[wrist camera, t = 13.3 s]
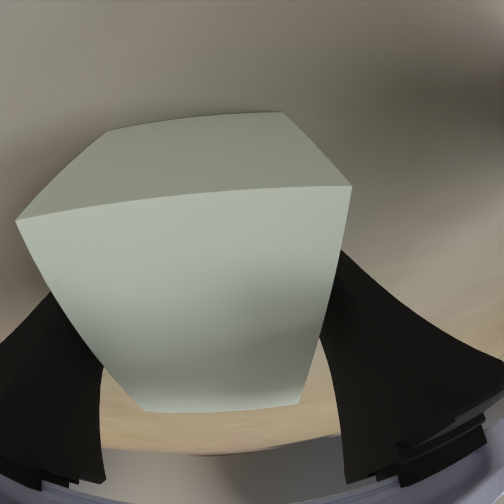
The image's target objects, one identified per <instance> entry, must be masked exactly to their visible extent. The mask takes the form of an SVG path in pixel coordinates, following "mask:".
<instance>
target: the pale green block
mask: <svg viewBox="0 0 504 504" xmlns="http://www.w3.org/2000/svg"><path fill="white" fill-rule="evenodd" d="M351 191H352V185H351V184H350V183H349V181H348V180H347V179H346V178H345V177H344V176H343V174H342V173H341V172H340V171H339V170H338V169H337V168H336V167H335V165H334V164H333V163H332V162H331V161H330V160H329V159H328V158H327V157H326V156H325V155H324V153H323V152H322V151H321V150H320V149H319V148H318V147H317V146H316V145H315V144H314V143H313V142H312V141H311V140H310V139H309V138H308V137H307V136H306V135H305V134H304V133H303V132H302V131H301V130H300V129H299V128H298V127H297V126H296V125H295V124H294V123H293V122H292V121H291V120H290V119H289V118H288V117H287V116H286V115H285V114H284V113H283V112H270V113H240V114H223V115H211V116H200V117H190V118H182V119H174V120H166V121H159V122H153V123H147V124H141V125H135V126H130V127H124V128H119V129H115V130H110V131H107V132H105V133H104V134H103V135H102V136H100V137H99V138H98V139H97V140H96V141H94V142H93V143H92V144H91V145H90V146H88V147H87V148H86V149H85V150H84V151H83V152H81V153H80V154H79V155H78V156H77V157H76V158H75V159H74V160H73V161H71V162H70V163H69V164H68V165H67V166H66V167H65V168H64V169H63V170H62V171H61V172H60V173H59V174H58V175H57V176H56V177H55V178H54V179H53V180H52V181H51V182H50V183H49V184H48V185H47V186H46V187H45V188H44V189H43V190H42V191H41V192H40V193H39V194H38V195H37V196H36V197H35V198H34V199H33V200H32V202H31V203H30V204H29V205H28V206H27V207H26V208H25V209H24V211H23V212H22V213H21V214H20V215H19V216H18V218H17V219H16V220H15V222H16V224H17V227H18V229H19V231H20V233H21V235H22V237H23V240H24V242H25V244H26V246H27V248H28V250H29V252H30V254H31V256H32V258H33V260H34V262H35V263H36V265H37V267H38V269H39V271H40V273H41V275H42V276H43V278H44V280H45V282H46V283H47V285H48V287H49V288H50V290H51V292H52V293H53V295H54V297H55V298H56V300H57V302H58V303H59V305H60V306H61V308H62V309H63V311H64V313H65V314H66V316H67V317H68V319H69V320H70V322H71V323H72V324H73V326H74V327H75V329H76V330H77V332H78V333H79V334H80V336H81V337H82V339H83V340H84V341H85V343H86V344H87V345H88V347H89V348H90V349H91V351H92V352H93V353H94V355H95V356H96V357H97V358H98V360H99V361H100V362H101V363H102V365H103V366H104V367H105V368H106V370H107V371H108V372H109V373H110V374H111V376H112V377H113V378H114V379H115V380H116V381H117V383H118V384H119V385H120V386H121V387H122V388H123V389H124V390H125V392H126V393H127V394H128V395H129V396H130V397H131V398H132V399H133V400H134V401H135V402H136V403H137V405H138V406H139V407H140V408H141V409H142V410H143V411H144V412H164V413H201V412H225V411H240V410H252V409H262V408H271V407H279V406H286V405H293V404H298V403H299V400H300V397H301V394H302V391H303V388H304V385H305V382H306V379H307V375H308V372H309V369H310V366H311V363H312V359H313V356H314V353H315V349H316V346H317V342H318V339H319V335H320V332H321V328H322V324H323V321H324V317H325V313H326V309H327V305H328V301H329V298H330V293H331V289H332V285H333V281H334V277H335V272H336V268H337V264H338V259H339V254H340V250H341V245H342V240H343V235H344V230H345V225H346V220H347V214H348V209H349V203H350V197H351Z"/></svg>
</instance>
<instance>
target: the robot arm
mask: <svg viewBox="0 0 504 504" xmlns="http://www.w3.org/2000/svg"><path fill="white" fill-rule="evenodd" d="M319 338H320V341H321V343H322V346H323V349H324V352H325V355H326V358H327V361H328V365H329V368H330V372H331V376H332V381H333V386H334V391H335V396H336V402H337V408H338V414H339V421H340V428H341V436H342V445H343V456H344V472H345V473H344V474H345V479H346V483H347V484H350V483H354V482H357V481H361V480H364V479H367V478H370V477H373V476H376V480H377V482H376V483H373V484H370V485H367V486H364V487H360V488H357V489H354V490H350V491H347V492H343V493H340V494H335V495H332V496H327V497H323V498H319V499H313V500H309V501H303V502H298V503H291V504H493V503H494V502H495V501H496V500H497V499H498V498H499V497H500V496H501V495H502V494H504V416H503V417H502V418H500V419H499V420H497V421H496V422H495V423H493V424H492V425H490V426H489V427H487V428H486V429H484V430H483V428H482V425H481V424H482V423H484V422H485V420H486V419H485V416H484V413H483V412H484V411H485V410H487V409H488V408H489V407H491V406H492V405H493V404H495V403H496V402H497V401H498V400H500V399H501V398H502V397H503V396H504V363H503V362H502V360H499V359H497V358H495V357H493V356H490V355H488V354H486V353H484V352H481V351H479V350H477V349H475V348H473V347H471V346H469V345H467V344H465V343H463V342H461V341H459V340H458V339H456V338H454V337H452V336H451V335H449V334H447V333H445V332H444V331H442V330H441V329H439V328H437V327H436V326H434V325H433V324H431V323H429V322H428V321H426V320H425V319H423V318H422V317H421V316H419V315H418V314H416V313H415V312H414V311H412V310H411V309H410V308H408V307H407V306H405V305H404V304H403V303H401V302H400V301H399V300H398V299H396V298H395V297H394V296H393V295H391V294H390V293H389V292H388V291H387V290H385V289H384V288H383V287H382V286H381V285H379V284H378V283H377V282H376V281H375V280H374V279H372V278H371V277H370V276H369V275H368V274H367V273H366V272H365V271H364V270H363V269H361V268H360V267H359V266H358V265H357V264H356V263H355V262H354V261H353V260H352V259H351V258H350V257H349V256H347V255H346V254H345V253H344V252H343V251H342V250H340V254H339V259H338V264H337V268H336V272H335V277H334V281H333V285H332V289H331V293H330V298H329V301H328V305H327V309H326V313H325V317H324V321H323V324H322V328H321V332H320V335H319ZM103 367H104V366H103V365H102V363H101V362H100V361H99V360H98V358H97V357H96V356H95V355H94V353H93V352H92V351H91V349H90V348H89V347H88V345H87V344H86V343H85V341H84V340H83V339H82V337H81V336H80V334H79V333H78V332H77V330H76V329H75V327H74V326H73V324H72V323H71V322H70V320H69V319H68V317H67V316H66V314H65V313H64V311H63V309H62V308H61V306H60V305H59V303H58V302H57V300H56V298H55V297H54V295H53V293H52V292H51V291H50V293H49V294H48V295H47V296H46V297H45V298H44V299H43V300H42V301H41V302H40V304H39V305H38V306H37V307H36V308H35V309H34V310H33V311H32V312H31V313H30V315H29V316H28V317H27V318H26V319H25V320H24V321H23V322H22V323H21V324H20V325H19V326H18V327H17V328H16V329H15V330H14V331H13V332H12V333H11V334H10V335H9V336H8V337H7V338H6V339H5V340H4V341H3V342H1V343H0V504H132V503H127V502H121V501H116V500H111V499H106V498H102V497H98V496H93V495H90V494H86V493H82V492H79V491H75V490H72V489H69V482H70V483H74V484H79V479H81V480H84V481H88V482H92V483H97V484H101V483H103V482H104V481H105V480H106V475H105V470H104V465H103V458H102V452H101V441H100V424H99V404H100V385H101V378H102V372H103Z"/></svg>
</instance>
